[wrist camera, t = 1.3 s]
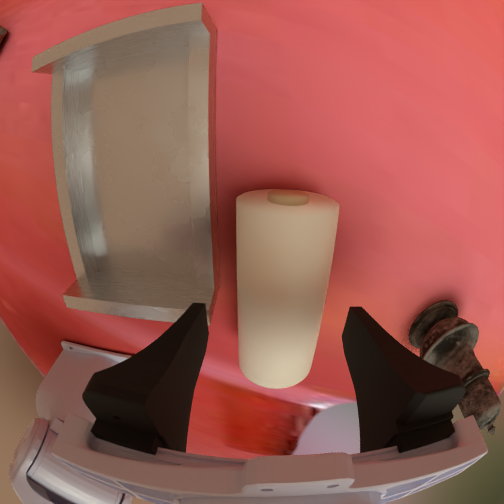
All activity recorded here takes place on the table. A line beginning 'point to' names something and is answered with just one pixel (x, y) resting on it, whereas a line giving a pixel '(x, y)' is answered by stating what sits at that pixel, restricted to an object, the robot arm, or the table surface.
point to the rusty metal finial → (457, 358)
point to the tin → (2, 33)
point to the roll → (282, 281)
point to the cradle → (138, 162)
